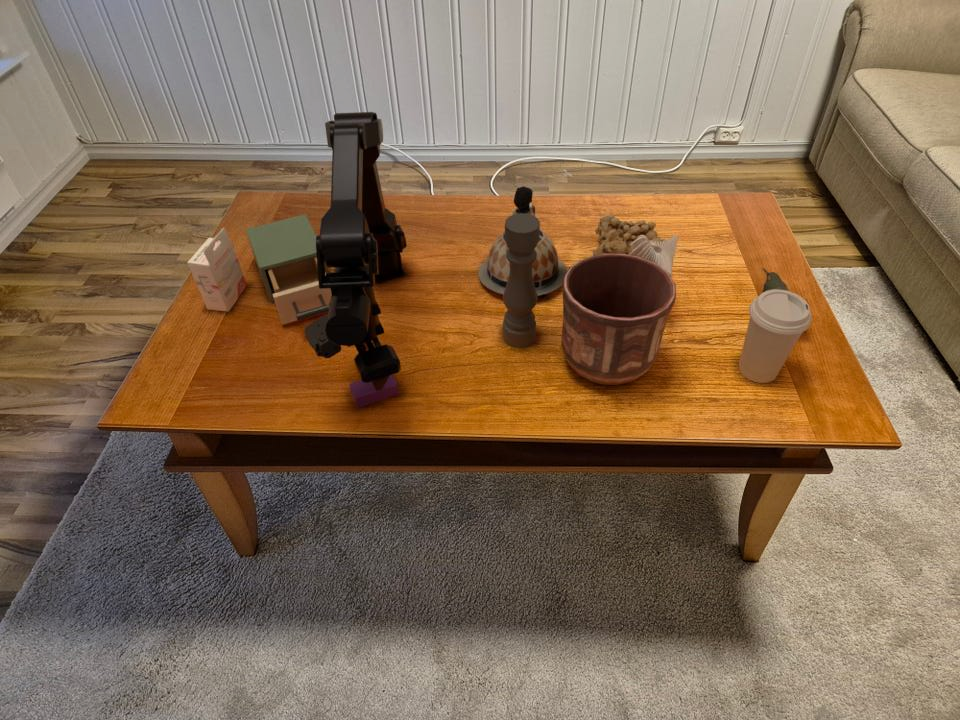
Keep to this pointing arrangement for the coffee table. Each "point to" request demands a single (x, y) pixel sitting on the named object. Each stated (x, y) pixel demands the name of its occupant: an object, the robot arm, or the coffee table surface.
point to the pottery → (614, 316)
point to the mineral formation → (622, 235)
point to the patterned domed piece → (544, 268)
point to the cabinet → (281, 245)
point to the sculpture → (774, 282)
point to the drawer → (298, 290)
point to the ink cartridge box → (218, 272)
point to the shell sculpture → (656, 251)
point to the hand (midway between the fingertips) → (370, 371)
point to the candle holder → (520, 280)
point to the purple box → (372, 391)
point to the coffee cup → (772, 333)
